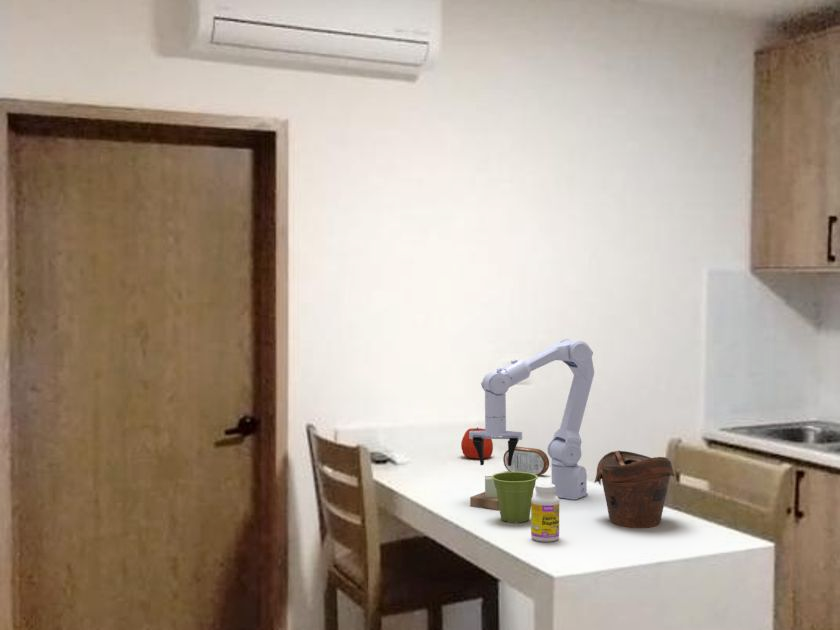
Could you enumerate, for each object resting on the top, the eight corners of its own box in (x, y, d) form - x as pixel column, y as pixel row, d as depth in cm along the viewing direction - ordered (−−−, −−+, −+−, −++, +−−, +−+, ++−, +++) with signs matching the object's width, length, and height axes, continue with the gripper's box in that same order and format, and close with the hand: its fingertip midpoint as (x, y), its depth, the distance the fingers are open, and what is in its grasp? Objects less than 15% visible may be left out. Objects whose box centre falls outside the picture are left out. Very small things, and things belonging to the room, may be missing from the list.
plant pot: (483, 517, 259) (483, 474, 258) (523, 512, 263) (523, 470, 263) (505, 527, 248) (505, 482, 247) (546, 522, 253) (546, 478, 252)
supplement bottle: (540, 543, 233) (540, 489, 232) (526, 537, 239) (525, 483, 238) (564, 540, 236) (564, 486, 235) (550, 534, 242) (550, 481, 241)
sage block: (501, 494, 274) (501, 475, 274) (501, 497, 270) (501, 479, 269) (485, 494, 274) (484, 475, 274) (485, 497, 270) (485, 479, 270)
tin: (549, 476, 310) (549, 449, 310) (545, 477, 308) (545, 450, 307) (506, 471, 318) (506, 445, 318) (502, 473, 316) (501, 446, 315)
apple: (459, 460, 337) (459, 429, 337) (463, 454, 348) (463, 424, 347) (491, 461, 335) (491, 429, 335) (494, 455, 346) (494, 424, 346)
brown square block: (515, 505, 273) (515, 494, 273) (499, 512, 266) (499, 501, 266) (487, 501, 278) (487, 490, 278) (470, 508, 271) (470, 497, 271)
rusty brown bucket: (605, 509, 266) (606, 442, 265) (681, 517, 257) (682, 448, 255) (584, 525, 250) (584, 454, 249) (664, 535, 241) (664, 461, 240)
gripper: (523, 414, 278) (523, 462, 278) (471, 413, 281) (472, 461, 281) (520, 418, 271) (521, 467, 272) (467, 417, 274) (468, 466, 275)
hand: (495, 465), depth 276 cm, fingers open, 7 cm apart
